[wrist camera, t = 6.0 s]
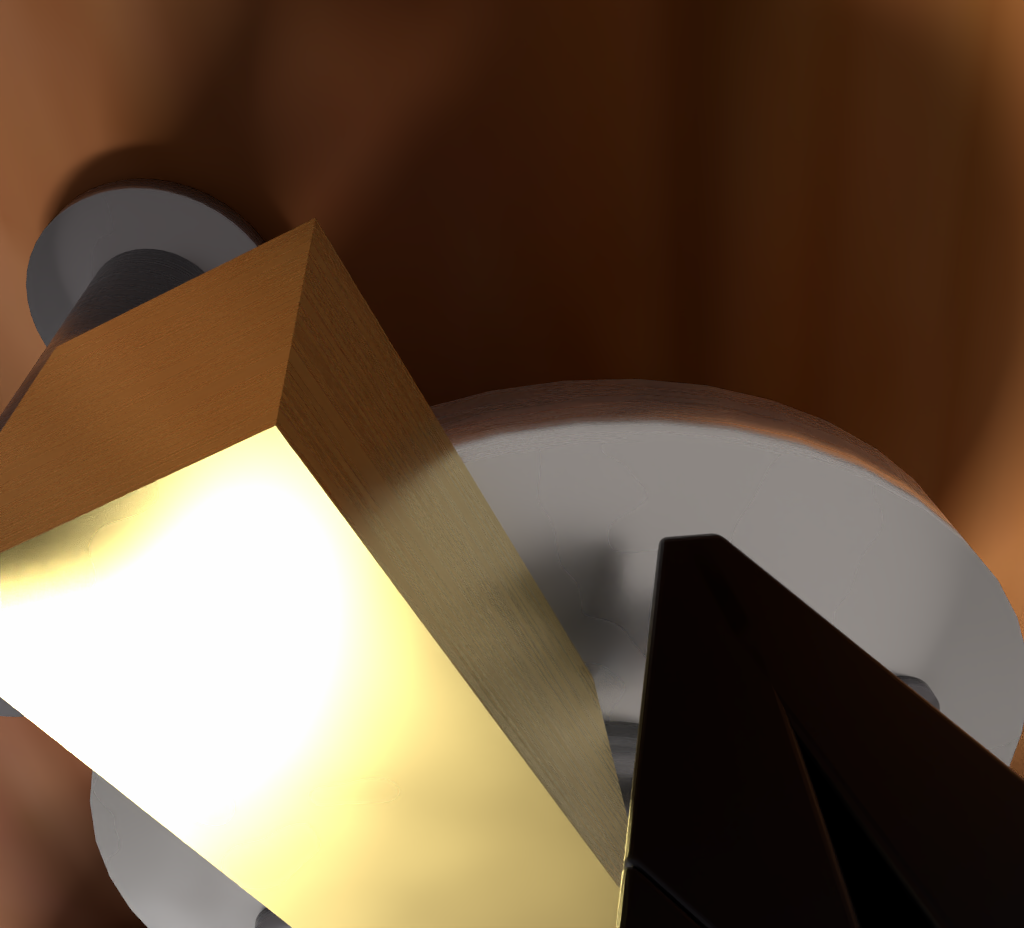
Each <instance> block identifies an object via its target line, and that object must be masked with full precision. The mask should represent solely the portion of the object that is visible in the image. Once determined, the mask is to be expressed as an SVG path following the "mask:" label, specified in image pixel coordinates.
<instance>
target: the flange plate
mask: <svg viewBox="0 0 1024 928" xmlns="http://www.w3.org/2000/svg"><path fill="white" fill-rule="evenodd" d="M709 533H713V534H718V535H721V536H723V537H724V538H726V539H727V540H728V541H729V542H731V543H732V544H733V545H734V546H736V547H737V548H738V549H739V550H741V551H742V552H743V553H744V554H746V555H747V556H748V557H749V558H751V559H752V560H753V561H754V562H755V563H757V564H758V565H759V566H760V567H762V568H763V569H764V570H765V571H767V572H768V573H769V574H770V575H772V576H773V577H774V578H775V579H777V580H778V581H779V582H780V583H782V584H783V585H784V586H785V587H786V588H788V589H789V590H790V591H791V592H793V593H794V594H795V595H796V596H798V597H799V598H800V599H801V600H803V601H804V602H805V603H806V604H808V605H809V606H810V607H811V608H813V609H814V610H815V611H816V612H818V613H819V614H820V615H821V616H822V617H824V618H825V619H826V620H827V621H829V622H830V623H831V624H832V625H834V626H835V627H836V628H837V629H839V630H840V631H841V632H842V633H844V634H845V635H846V636H847V637H849V638H850V639H851V640H852V641H853V642H855V643H856V644H857V645H858V646H860V647H861V648H862V649H863V650H865V651H866V652H867V653H868V654H870V655H871V656H872V657H873V658H875V659H876V660H877V661H878V662H880V663H881V664H882V665H883V666H885V667H886V668H887V669H888V670H889V671H891V672H892V673H893V674H894V675H896V676H897V677H898V678H899V679H901V680H902V681H903V682H904V683H906V684H907V685H908V686H909V687H911V688H912V689H913V690H914V691H916V692H917V693H918V694H919V695H920V696H922V697H923V698H924V699H925V700H927V701H928V702H929V703H930V704H932V705H933V706H934V707H935V708H937V709H938V710H939V711H940V712H942V713H943V714H944V715H945V716H947V717H948V718H949V719H950V720H952V721H953V722H954V723H955V724H956V725H958V726H959V727H960V728H961V729H963V730H964V731H965V732H966V733H968V734H969V735H970V736H971V737H973V738H974V739H975V740H976V741H978V742H979V743H980V744H981V745H983V746H984V747H985V748H986V749H987V750H989V751H990V752H991V753H992V754H994V755H995V756H996V757H997V758H999V759H1000V760H1001V761H1002V762H1004V763H1005V764H1006V765H1007V766H1010V763H1011V760H1012V758H1013V755H1014V752H1015V750H1016V747H1017V744H1018V741H1019V739H1020V736H1021V733H1022V728H1023V723H1024V642H1023V638H1022V634H1021V630H1020V626H1019V622H1018V618H1017V616H1016V614H1015V612H1014V610H1013V608H1012V607H1011V605H1010V603H1009V601H1008V599H1007V597H1006V595H1005V593H1004V591H1003V589H1002V587H1001V585H1000V583H999V581H998V580H997V579H996V577H995V576H994V575H993V574H992V573H991V571H990V570H989V569H988V568H987V566H986V565H985V564H984V563H983V562H982V560H981V559H980V558H979V557H978V556H977V554H976V553H975V552H974V551H973V550H972V548H971V547H970V546H969V545H968V543H967V542H966V541H965V540H964V539H963V537H962V536H961V535H960V534H959V533H958V531H957V530H956V529H955V528H954V527H953V525H952V524H951V523H950V522H949V520H948V519H947V518H946V517H945V516H944V514H943V513H942V512H941V511H940V510H939V508H938V507H937V506H936V505H935V504H934V502H933V501H932V500H931V499H930V498H929V497H928V495H927V494H926V493H925V492H924V491H923V489H922V488H921V487H920V486H919V485H918V483H917V482H916V481H915V480H914V479H913V478H912V477H910V476H909V475H908V474H907V473H906V472H904V471H903V470H902V469H901V468H899V467H898V466H897V465H896V464H895V463H893V462H892V461H891V460H890V459H888V458H887V457H886V456H885V455H884V454H882V453H881V452H880V451H879V450H877V449H876V448H874V447H873V446H871V445H869V444H867V443H866V442H864V441H862V440H860V439H859V438H857V437H855V436H853V435H851V434H850V433H848V432H846V431H844V430H843V429H841V428H839V427H837V426H836V425H834V424H832V423H830V422H829V421H826V420H823V419H821V418H818V417H815V416H813V415H810V414H807V413H805V412H802V411H800V410H797V409H794V408H792V407H789V406H786V405H784V404H781V403H778V402H776V401H773V400H770V399H765V398H761V397H756V396H752V395H748V394H743V393H739V392H734V391H730V390H725V389H721V388H717V387H712V386H708V385H698V384H687V383H677V382H666V381H656V380H645V379H609V380H568V381H558V382H551V383H544V384H536V385H529V386H522V387H515V388H508V389H501V390H493V391H488V392H484V393H480V394H476V395H473V396H469V397H465V398H461V399H457V400H453V401H449V402H445V403H441V404H438V405H434V406H430V407H429V405H428V403H427V402H426V400H425V398H424V397H423V395H422V393H421V392H420V390H419V388H418V387H417V385H416V383H415V382H414V380H413V378H412V377H411V375H410V373H409V372H408V370H407V368H406V367H405V365H404V363H403V362H402V360H401V359H400V357H399V355H398V354H397V352H396V350H395V349H394V347H393V345H392V344H391V342H390V340H389V339H388V337H387V335H386V334H385V332H384V330H383V329H382V327H381V325H380V324H379V322H378V320H377V319H376V317H375V315H374V314H373V312H372V311H371V309H370V307H369V306H368V304H367V302H366V301H365V299H364V297H363V296H362V294H361V292H360V291H359V289H358V287H357V286H356V284H355V282H354V281H353V279H352V277H351V276H350V274H349V272H348V271H347V269H346V267H345V266H344V264H343V263H342V261H341V259H340V258H339V256H338V254H337V253H336V251H335V249H334V248H333V246H332V244H331V243H330V241H329V239H328V238H327V236H326V234H325V233H324V231H323V229H322V228H321V226H320V224H319V223H318V221H317V219H316V218H314V219H312V220H310V221H308V222H306V223H304V224H302V225H300V226H298V227H296V228H294V229H292V230H290V231H288V232H286V233H284V234H282V235H280V236H278V237H276V238H274V239H272V240H270V241H268V242H266V243H264V244H262V245H260V246H258V247H256V248H254V249H252V250H250V251H248V252H246V253H244V254H242V255H240V256H238V257H236V258H234V259H232V260H230V261H228V262H226V263H224V264H222V265H220V266H218V267H216V268H214V269H212V270H210V271H208V272H206V273H204V274H202V275H200V276H198V277H196V278H194V279H192V280H190V281H188V282H186V283H184V284H182V285H180V286H178V287H176V288H174V289H171V290H169V291H167V292H165V293H163V294H161V295H159V296H157V297H155V298H153V299H151V300H149V301H147V302H145V303H143V304H141V305H139V306H137V307H135V308H133V309H131V310H129V311H127V312H125V313H123V314H121V315H119V316H117V317H115V318H113V319H111V320H109V321H107V322H105V323H103V324H101V325H99V326H97V327H95V328H93V329H91V330H89V331H87V332H85V333H83V334H81V335H79V336H77V337H75V338H73V339H71V340H69V341H67V342H65V343H63V344H61V345H59V346H57V347H56V348H55V349H54V351H53V353H52V354H51V356H50V357H49V359H48V360H47V362H46V363H45V365H44V366H43V368H42V369H41V371H40V372H39V374H38V375H37V377H36V378H35V380H34V381H33V383H32V385H31V386H30V388H29V389H28V391H27V392H26V394H25V395H24V397H23V398H22V400H21V401H20V403H19V404H18V406H17V407H16V409H15V410H14V412H13V413H12V415H11V417H10V418H9V420H8V421H7V423H6V424H5V426H4V427H3V429H2V430H1V432H0V696H1V697H2V698H3V699H5V700H6V701H7V702H8V703H10V704H11V705H12V706H13V707H15V708H16V709H17V710H18V711H20V712H21V713H22V714H23V715H25V716H26V717H27V718H29V719H30V720H31V721H32V722H34V723H35V724H36V725H37V726H39V727H40V728H41V729H42V730H44V731H45V732H46V733H47V734H49V735H50V736H51V737H52V738H54V739H55V740H56V741H58V742H59V743H60V744H61V745H63V746H64V747H65V748H66V749H68V750H69V751H70V752H71V753H73V754H74V755H75V756H76V757H78V758H79V759H80V760H81V761H83V762H84V763H85V764H87V765H88V766H89V767H90V768H92V769H93V770H92V782H91V795H90V805H91V812H92V819H93V825H94V832H95V838H96V843H97V845H98V848H99V850H100V853H101V856H102V858H103V861H104V863H105V866H106V868H107V871H108V873H109V876H110V878H111V880H112V881H113V883H114V884H115V886H116V887H117V889H118V890H119V892H120V893H121V895H122V897H123V898H124V900H125V901H126V903H127V904H128V906H129V907H130V909H131V910H132V911H133V912H134V913H135V914H136V915H137V917H138V918H139V919H140V920H141V921H142V922H143V923H144V924H145V925H146V926H147V927H148V928H616V920H617V911H618V902H619V893H620V884H621V875H622V871H623V863H624V853H625V844H626V835H627V826H628V817H629V808H630V799H631V790H632V781H633V772H634V762H635V753H636V744H637V735H638V726H639V717H640V708H641V699H642V690H643V681H644V672H645V663H646V654H647V644H648V635H649V626H650V617H651V608H652V599H653V590H654V581H655V572H656V563H657V554H658V545H659V542H660V540H661V539H662V538H664V537H670V536H683V535H696V534H709Z"/></svg>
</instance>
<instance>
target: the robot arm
mask: <svg viewBox="0 0 1024 928" xmlns="http://www.w3.org/2000/svg"><path fill="white" fill-rule="evenodd" d="M616 928H1024V779H1023V778H1022V777H1021V776H1020V775H1019V774H1017V773H1016V772H1015V771H1014V770H1012V769H1011V768H1010V767H1009V766H1007V765H1006V764H1005V763H1004V762H1002V761H1001V760H1000V759H999V758H997V757H996V756H995V755H994V754H992V753H991V752H990V751H989V750H987V749H986V748H985V747H984V746H983V745H981V744H980V743H979V742H978V741H976V740H975V739H974V738H973V737H971V736H970V735H969V734H968V733H966V732H965V731H964V730H963V729H961V728H960V727H959V726H958V725H956V724H955V723H954V722H953V721H952V720H950V719H949V718H948V717H947V716H945V715H944V714H943V713H942V712H940V711H939V710H938V709H937V708H935V707H934V706H933V705H932V704H930V703H929V702H928V701H927V700H925V699H924V698H923V697H922V696H920V695H919V694H918V693H917V692H916V691H914V690H913V689H912V688H911V687H909V686H908V685H907V684H906V683H904V682H903V681H902V680H901V679H899V678H898V677H897V676H896V675H894V674H893V673H892V672H891V671H889V670H888V669H887V668H886V667H885V666H883V665H882V664H881V663H880V662H878V661H877V660H876V659H875V658H873V657H872V656H871V655H870V654H868V653H867V652H866V651H865V650H863V649H862V648H861V647H860V646H858V645H857V644H856V643H855V642H853V641H852V640H851V639H850V638H849V637H847V636H846V635H845V634H844V633H842V632H841V631H840V630H839V629H837V628H836V627H835V626H834V625H832V624H831V623H830V622H829V621H827V620H826V619H825V618H824V617H822V616H821V615H820V614H819V613H818V612H816V611H815V610H814V609H813V608H811V607H810V606H809V605H808V604H806V603H805V602H804V601H803V600H801V599H800V598H799V597H798V596H796V595H795V594H794V593H793V592H791V591H790V590H789V589H788V588H786V587H785V586H784V585H783V584H782V583H780V582H779V581H778V580H777V579H775V578H774V577H773V576H772V575H770V574H769V573H768V572H767V571H765V570H764V569H763V568H762V567H760V566H759V565H758V564H757V563H755V562H754V561H753V560H752V559H751V558H749V557H748V556H747V555H746V554H744V553H743V552H742V551H741V550H739V549H738V548H737V547H736V546H734V545H733V544H732V543H731V542H729V541H728V540H727V539H726V538H724V537H723V536H721V535H718V534H713V533H709V534H696V535H683V536H670V537H664V538H662V539H661V540H660V542H659V545H658V554H657V563H656V572H655V581H654V590H653V599H652V608H651V617H650V626H649V635H648V644H647V654H646V663H645V672H644V681H643V690H642V699H641V708H640V717H639V726H638V735H637V744H636V753H635V762H634V772H633V781H632V790H631V799H630V808H629V817H628V826H627V835H626V844H625V853H624V863H623V871H622V875H621V884H620V893H619V902H618V911H617V920H616Z"/></svg>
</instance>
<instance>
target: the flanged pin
mask: <svg viewBox="0 0 1024 928" xmlns="http://www.w3.org/2000/svg"><path fill="white" fill-rule="evenodd" d="M264 243H265V242H264V241H263V239H262V238H261V236H260V235H259V234H258V233H257V232H256V231H255V230H254V229H253V227H252V226H251V225H250V224H249V223H248V222H247V221H246V220H244V219H243V218H242V217H241V216H240V215H239V214H238V213H236V212H235V211H234V210H232V209H231V208H229V207H228V206H227V205H225V204H224V203H222V202H221V201H219V200H217V199H215V198H213V197H212V196H210V195H208V194H206V193H203V192H201V191H199V190H196V189H194V188H191V187H188V186H185V185H181V184H178V183H174V182H168V181H162V180H156V179H130V180H120V181H116V182H112V183H107V184H104V185H101V186H98V187H96V188H93V189H91V190H89V191H87V192H85V193H83V194H82V195H80V196H78V197H76V198H75V199H74V200H73V201H71V202H70V203H69V204H68V205H66V206H65V207H64V208H63V209H62V210H61V211H60V213H59V214H58V215H57V216H56V217H55V218H54V219H53V220H52V221H51V223H50V224H49V225H48V226H47V227H46V228H45V229H44V231H43V232H42V234H41V236H40V237H39V239H38V240H37V242H36V244H35V246H34V249H33V251H32V254H31V256H30V260H29V265H28V269H27V281H26V288H27V299H28V304H29V308H30V312H31V316H32V318H33V321H34V323H35V326H36V328H37V331H38V332H39V334H40V336H41V338H42V340H43V341H44V343H45V345H46V346H47V348H46V349H45V351H44V352H43V353H42V355H41V356H40V358H39V359H38V361H37V362H36V364H35V365H34V367H33V368H32V370H31V371H30V373H29V374H28V376H27V377H26V379H25V380H24V382H23V383H22V385H21V386H20V388H19V389H18V391H17V392H16V394H15V395H14V396H13V398H12V399H11V401H10V402H9V404H8V405H7V407H6V408H5V410H4V411H3V413H2V414H1V416H0V432H1V430H2V429H3V427H4V426H5V424H6V423H7V421H8V420H9V418H10V417H11V415H12V413H13V412H14V410H15V409H16V407H17V406H18V404H19V403H20V401H21V400H22V398H23V397H24V395H25V394H26V392H27V391H28V389H29V388H30V386H31V385H32V383H33V381H34V380H35V378H36V377H37V375H38V374H39V372H40V371H41V369H42V368H43V366H44V365H45V363H46V362H47V360H48V359H49V357H50V356H51V354H52V353H53V351H54V349H55V348H56V347H57V346H59V345H61V344H63V343H65V342H67V341H69V340H71V339H73V338H75V337H77V336H79V335H81V334H83V333H85V332H87V331H89V330H91V329H93V328H95V327H97V326H99V325H101V324H103V323H105V322H107V321H109V320H111V319H113V318H115V317H117V316H119V315H121V314H123V313H125V312H127V311H129V310H131V309H133V308H135V307H137V306H139V305H141V304H143V303H145V302H147V301H149V300H151V299H153V298H155V297H157V296H159V295H161V294H163V293H165V292H167V291H169V290H171V289H174V288H176V287H178V286H180V285H182V284H184V283H186V282H188V281H190V280H192V279H194V278H196V277H198V276H200V275H202V274H204V273H206V272H208V271H210V270H212V269H214V268H216V267H218V266H220V265H222V264H224V263H226V262H228V261H230V260H232V259H234V258H236V257H238V256H240V255H242V254H244V253H246V252H248V251H250V250H252V249H254V248H256V247H258V246H260V245H262V244H264ZM0 716H11V717H20V716H25V715H23V714H22V713H21V712H20V711H18V710H17V709H16V708H15V707H13V706H12V705H11V704H10V703H8V702H7V701H6V700H5V699H3V698H2V697H1V696H0Z"/></svg>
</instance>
